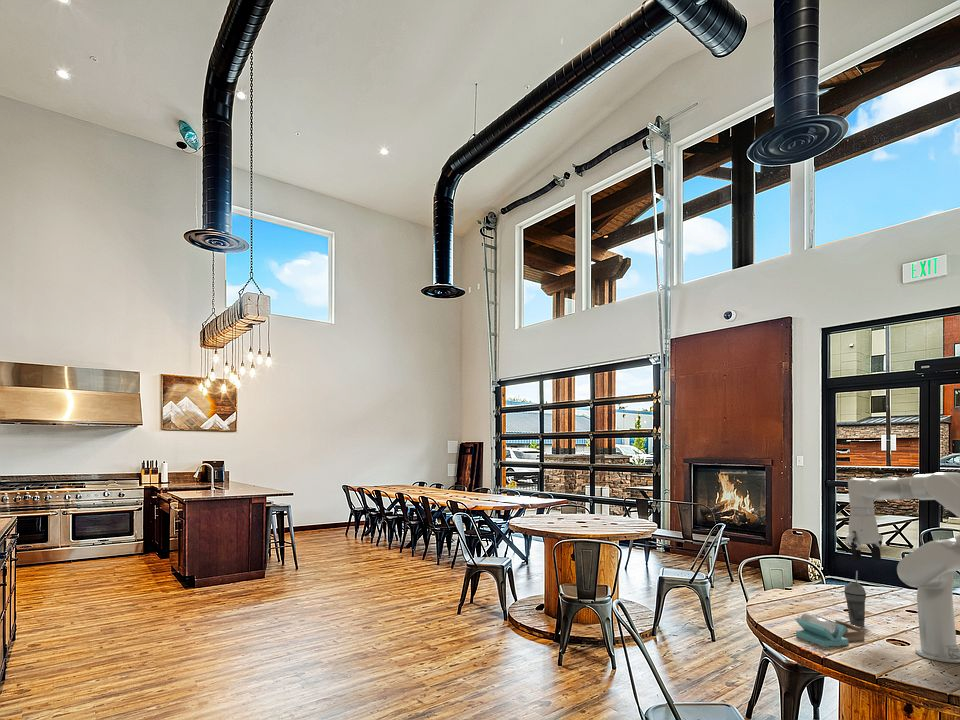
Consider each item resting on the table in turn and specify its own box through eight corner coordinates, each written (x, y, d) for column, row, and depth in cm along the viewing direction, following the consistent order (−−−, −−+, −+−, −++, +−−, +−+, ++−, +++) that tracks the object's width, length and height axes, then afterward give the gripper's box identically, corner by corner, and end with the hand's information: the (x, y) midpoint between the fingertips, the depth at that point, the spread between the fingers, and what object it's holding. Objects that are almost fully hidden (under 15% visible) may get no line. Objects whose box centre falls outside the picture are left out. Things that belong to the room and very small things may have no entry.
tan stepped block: (864, 640, 209) (863, 627, 210) (844, 642, 207) (843, 629, 207) (840, 631, 219) (839, 619, 219) (820, 633, 216) (819, 621, 217)
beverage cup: (847, 620, 232) (844, 567, 235) (869, 624, 227) (865, 570, 230) (844, 625, 226) (840, 570, 229) (867, 628, 222) (863, 573, 225)
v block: (848, 645, 203) (847, 625, 204) (824, 647, 201) (822, 628, 201) (819, 634, 215) (818, 616, 216) (796, 636, 212) (795, 618, 213)
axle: (838, 637, 204) (838, 623, 204) (828, 636, 202) (828, 622, 203) (810, 626, 215) (810, 613, 216) (800, 625, 214) (800, 612, 215)
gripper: (869, 510, 227) (874, 557, 225) (836, 511, 222) (840, 559, 219) (888, 512, 220) (893, 560, 218) (854, 513, 215) (859, 563, 212)
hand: (866, 560), depth 218 cm, fingers open, 9 cm apart
